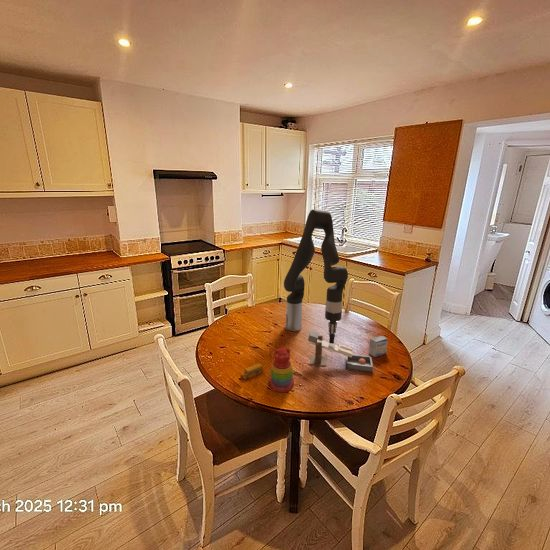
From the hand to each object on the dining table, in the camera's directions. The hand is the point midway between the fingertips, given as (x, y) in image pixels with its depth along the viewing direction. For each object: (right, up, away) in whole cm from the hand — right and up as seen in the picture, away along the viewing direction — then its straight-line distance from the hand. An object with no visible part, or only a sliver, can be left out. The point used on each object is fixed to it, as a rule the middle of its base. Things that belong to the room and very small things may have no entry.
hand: (331, 342), depth 142 cm
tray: (+13, -11, 0) cm, 17 cm away
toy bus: (-37, -14, -6) cm, 40 cm away
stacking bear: (-24, -15, -14) cm, 32 cm away
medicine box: (+25, -8, +11) cm, 29 cm away
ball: (+14, -9, -1) cm, 17 cm away
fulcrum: (-6, -10, +4) cm, 12 cm away
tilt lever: (-1, -2, +1) cm, 3 cm away
